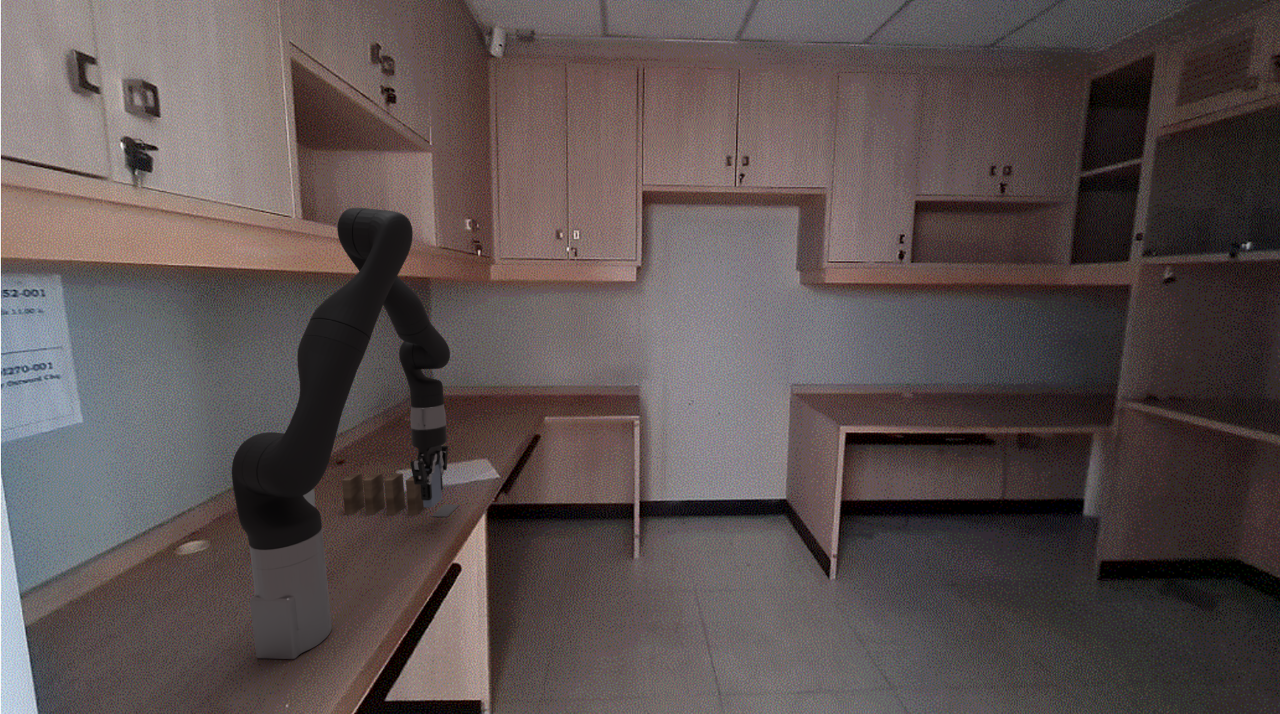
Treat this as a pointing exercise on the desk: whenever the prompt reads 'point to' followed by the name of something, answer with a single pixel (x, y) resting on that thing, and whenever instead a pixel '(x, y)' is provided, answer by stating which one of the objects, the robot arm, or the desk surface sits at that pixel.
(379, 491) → the tile
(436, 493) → the blue-grey rectangular block
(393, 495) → the tile
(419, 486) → the tile
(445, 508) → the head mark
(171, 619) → the desk surface
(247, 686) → the desk surface
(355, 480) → the tile
